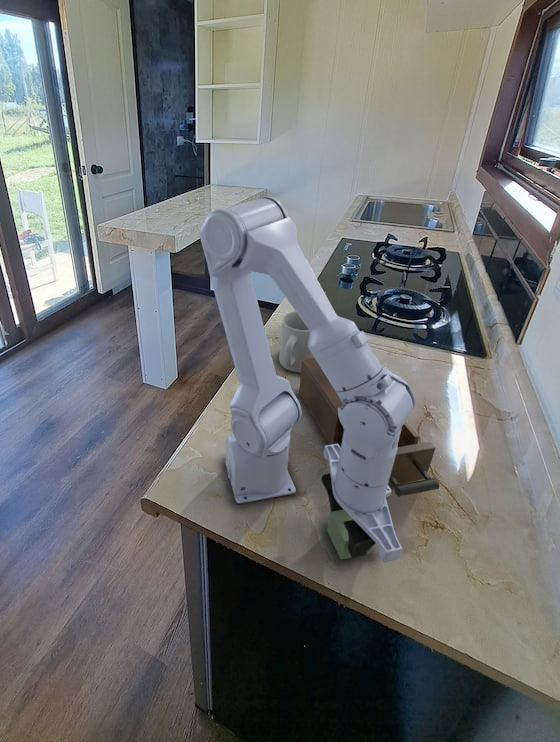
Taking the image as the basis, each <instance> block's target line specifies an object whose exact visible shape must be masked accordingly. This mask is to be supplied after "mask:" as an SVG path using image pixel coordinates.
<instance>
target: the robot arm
mask: <svg viewBox="0 0 560 742" xmlns="http://www.w3.org/2000/svg"><path fill="white" fill-rule="evenodd" d="M198 235H199V239H200V243H201V245H202V246H201V247H202V249H203V253H204V256H205V261H206V264H207V269H208V274H209V277H210V281H211V285H212V288H213V292H214V295H215V299H216V303H217V307H218V311H219V314H220V318H221V321H222V325H223V329H224V332H225V336H226V340H227V343H228V346H229V350H230V354H231V357H232V362H233V365H234V368H235V372H236V376H237V380H238V386H237V388H236V390H235V392H234V394H233V396H232V399H231V401H230V403H229V409H230V412H231V421H230V427H231V432H232V434H230V435H227V436H226V437H225V439H226V440H225V461H224V463H225V466H226V472H227V478H228V479H229V482H230V485H231V489H232V492H233V496H234V500H235V502H236V503H237V504H246V503H251V502H256V501H261V500H267V499H272V498H277V497H282V496H288V495H294V494H296V492H297V489H296V486H295V484H294V482H293V479H292V477H291V475H290V473H289V471H288V465H289V455H290V445H291V444H290V443H291V432H292V431H293V425H294V424H296V423H297V422H299V421H300V419H301V418H302V414H303V413H302V406H301V403H300V401H299V399H298V398H297V397H296V395H295V393H294V391H293V389H292V387H291V381H290V380H289V379H286V378H285V377H282V376H281V375H277V372H276V369H275V365H274V361H273V357H272V353H271V348H270V345H269V340H268V337H267V333H266V329H265V326H264V322H263V317H262V314H261V309H260V306H259V302H258V297H257V295H256V290H255V286H254V282H253V278H252V273H257V274H263V275H268V276H269V277H270V278H271V279H272V281H273V282H274V283H275V285H276V286H277V287H278V289H279V290H280V292H281V293H282V294H283V296H284V297H285V298H286V300H287V301H288V303H289V304H290V305H291V307H292V308H293V310H294V309H295V311H296V312H297V313H298V315H299V316H300V317H301V319H302V320H303V322H304V323H305V324H306V326H307V327H308V328H309V330H310V335H309V340H308V348H309V349H310V351H311V352H312V354H313V356H314V357H315V359H316V361H317V362H318V364H319V365H320V367H321V369H322V370H323V372H324V374H325V375H326V377H327V378H328V380H329V382H330V383H331V385H332V386H333V388H334V390H335V391H336V393H337V395H338V396H339V398H340V400H341V401H342V403H343V404H342V406H341V408H338V416H339V420H340V422H341V424H342V426H343V428H344V434H343V439H342V445H341V448H340V446H339V445H338V444H332V445H329V444H327V445H324V449H323V457H324V459H325V460H326V461H327V462H328V467H329V468H328V469H329V473H324V474H322V476H321V480H320V481H321V483H322V485H323V486H324V488H325V491H326V493H327V497H328V501H329V507H330V512H333V511H338V510H343V509H344V510H345V511H346V512H347V513H348V514H349V515H350V516H351V517H352V518H353V519H354V520H349V521H344V525H345V527H346V529H347V531H348V536H349V542H348V549H349V553H350V555H351V557H352V558H357V557H361V556H366V555H367V554H366V553H367V552H368V551H369V549H370V550H371V548H373V547H374V546H375V545H377V546H378V548H379V549H378V556H379V558H380V561H382V563H389V562H393V561H397V560H400V558H401V555H402V553H403V547H402V545H401V542H400V541H399V538H398V537H397V534H396V528H395V527H394V524H393V520H392V516H391V513H390V508H389V504H388V501H387V497H390V496H391V494H392V489H391V488H390V487H391V486H388V482H389V479H390V475H391V471H392V468H393V464H394V460H395V456H396V453H397V449H398V442H399V437H400V433H401V429H402V426H403V424H404V423H405V422H406V421H407V420H408V419H409V418H410V417H411V416H412V414H413V412H414V411H413V410H414V409H415V405H416V400H415V395H414V393H413V392H412V390H411V386H410V384H409V383H408V382H407V381H406V380H405V379H403V378H402V377H400V376H399V375H397V374H396V373H393V372H391V371H390V370H389V369H388V367H387V366H384V365H383V364H382V363H381V362H380V361H379V358H377V356H376V354H375V353H374V351H373V350H372V349H371V347H370V345H369V340H370V339H369V338H368V336H367V335H366V333H365V332H364V330H360V329H359V328H358V327H357V325H356V323H355V322H354V321H353V320H351V319H348V318H345V317H342V316H339V315H338V314H337V312H336V311H335V309H334V308H333V306H332V304H331V302H330V301H329V299H328V297H327V294H326V292H325V291H324V289H323V287H322V286H321V284H320V282H319V280H318V279H317V276H316V274H315V273H314V270H313V269H312V267H311V265H310V264H309V261H308V260H307V258H306V256H305V254H304V252H303V251H302V249H301V247H300V245H299V242H298V233H297V225H296V223H295V222H294V220H293V219H292V218H291V217H290V216H289V215H288V212H287V209H286V208H285V205H284V204H283V203H281V201H280V200H279V199H277V198H275V197H274V196H269V195H264V196H260V197H258V198H256V199H254V200H250V201H247V202H243V203H239V204H235V205H232V206H228V207H226V208H218V209H214V210H212V211H211V212H210V213H209V214H208V215H207V216H206V218H205V220H204V221H203V224H202V226H201V228H200V230H199V232H198ZM369 552H370V551H369ZM365 554H366V555H365ZM356 556H357V557H356Z"/></svg>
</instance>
